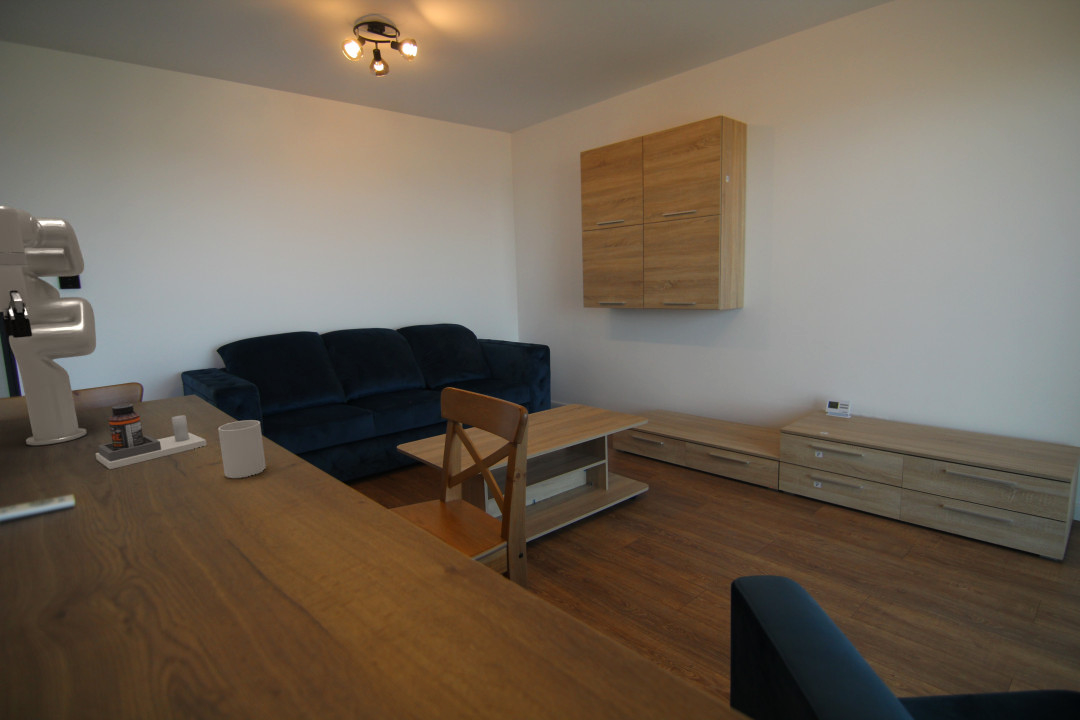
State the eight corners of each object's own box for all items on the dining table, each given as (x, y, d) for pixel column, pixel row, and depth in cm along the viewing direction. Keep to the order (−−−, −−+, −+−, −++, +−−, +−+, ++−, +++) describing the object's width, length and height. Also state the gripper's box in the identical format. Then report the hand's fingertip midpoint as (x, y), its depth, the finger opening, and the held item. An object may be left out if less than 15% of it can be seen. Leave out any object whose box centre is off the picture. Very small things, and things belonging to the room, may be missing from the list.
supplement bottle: (108, 454, 130) (99, 408, 128) (132, 446, 135) (125, 402, 134) (126, 456, 128) (118, 409, 126) (151, 448, 134) (143, 403, 132)
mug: (271, 470, 119) (266, 423, 117) (232, 481, 113) (225, 432, 111) (250, 459, 127) (244, 415, 125) (212, 469, 121) (206, 423, 120)
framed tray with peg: (96, 459, 132) (91, 429, 130) (189, 437, 147) (185, 410, 145) (109, 469, 124) (104, 437, 123) (206, 445, 139) (202, 417, 138)
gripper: (-23, 263, 128) (-8, 336, 130) (-14, 260, 116) (2, 340, 119) (20, 262, 133) (34, 332, 136) (33, 259, 122) (47, 335, 125)
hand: (19, 336), depth 128 cm, fingers open, 9 cm apart
